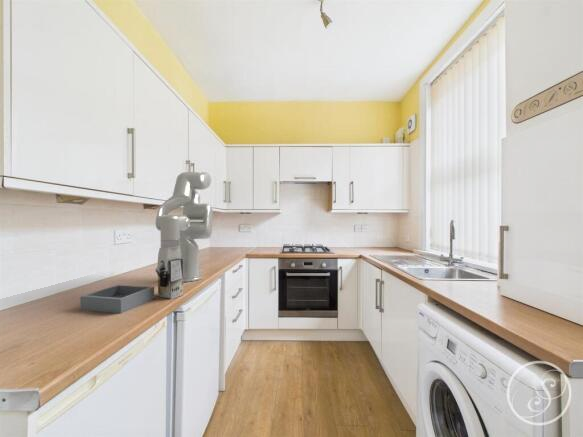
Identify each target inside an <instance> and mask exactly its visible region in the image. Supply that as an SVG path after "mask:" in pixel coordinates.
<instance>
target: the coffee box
mask: <svg viewBox="0 0 583 437" xmlns="http://www.w3.org/2000/svg"><path fill="white" fill-rule="evenodd" d="M164 270H166V269H165V268H164ZM163 273H165V272H163ZM166 277H167V278H168V286H167V287H160V278H159V276H158V275H157V288H158V290H157V295H158V297H161V298H167V299H170V300H171V299H175V298H178V297H182V296H183V295H184V282H183V259H179V258H178V259H174V260H170V261H169V270H168V271H167V276H166Z"/></svg>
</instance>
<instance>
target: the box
mask: <svg viewBox="0 0 583 437" xmlns="http://www.w3.org/2000/svg"><path fill="white" fill-rule="evenodd" d="M154 299H155V286H146V285H132V284H131V285H130V284H116V285H112V286H109V287H106V288H102V289H100V290H97V291H96V290H95V291H93V292H90V293H86V294H83V295H80V297H79V303H80V305H79V306H80V308H79V310H81V311H90V312H91V311H92V312H103V313H115V314H123V313H125V312H127V311H129V310H132V309H133V308H137V307H138V306H141V305H143V304H145V303H147V302H150V301H152V300H154Z"/></svg>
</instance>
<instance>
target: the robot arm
mask: <svg viewBox="0 0 583 437" xmlns="http://www.w3.org/2000/svg"><path fill="white" fill-rule="evenodd" d="M175 180H176V181H175V185H174V189H173V193H172V196H170V197H169V198H167V199H166V200H165V201H164V202H162V204H161V205H160V207H159V208H158V210H157V214H156V218H155V227H156V230H158V231H160V247H159V249H158V254H157V266H156V268H155V272H156V275H157V277H158V276H159V278H160V287H167V286H168V278H167V277H166V276H167V271H168V270H169V261H170V260H174V259H178V258H179V259H183V283H187V282H189V283H191V282H196V281H199V280H201V279H202V278H203V276H202V275H201V274H200V273H202V272H203V269H202V268H199V264H200V263H199V259H200V258H199V245H198V243H197V242H196V240H206V239H209V238H211V237H212V236H211V235H212V231H213V216H214V212H213V207H212V205H210V204H209V203H200V202H201V196H200V194H199V192H198V191H197V190H206V189H208V188H209V187H210V186H211V184H212V178H211V175H210V173H209V172H204V171H202V172H201V171H199V172H197V171H185V172H181V173H180V174H178V176H177V177H176V179H175ZM181 207H182V214H178V215H177V214H169V213H170V212H172V211H174V210H176V209H178V208H181ZM164 268H165V269H166V270H164ZM163 272H165V273H163Z"/></svg>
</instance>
